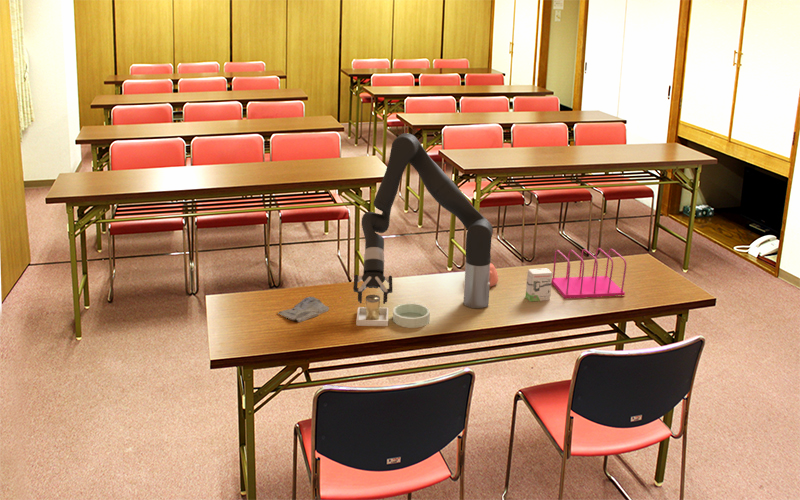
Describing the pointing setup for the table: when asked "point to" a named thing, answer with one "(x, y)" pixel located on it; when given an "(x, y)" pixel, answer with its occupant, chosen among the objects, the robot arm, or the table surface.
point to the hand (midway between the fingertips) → (372, 302)
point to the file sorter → (587, 280)
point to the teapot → (493, 275)
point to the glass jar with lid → (372, 307)
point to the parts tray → (363, 322)
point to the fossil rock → (305, 310)
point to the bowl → (411, 315)
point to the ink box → (538, 284)
